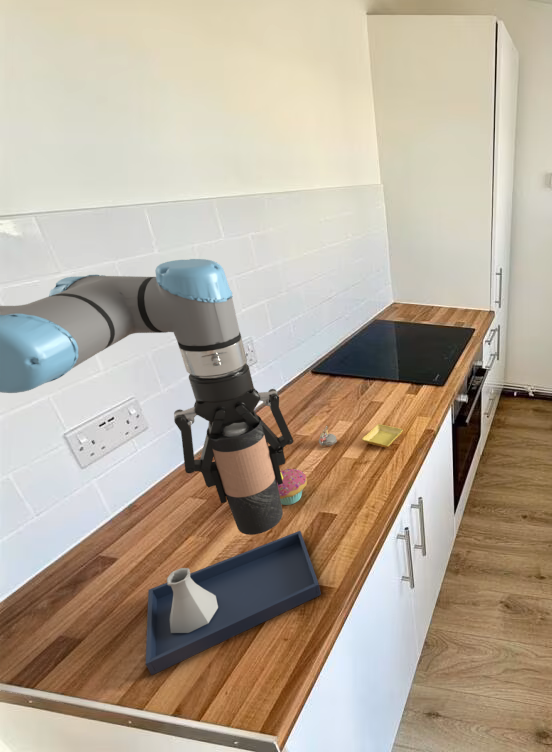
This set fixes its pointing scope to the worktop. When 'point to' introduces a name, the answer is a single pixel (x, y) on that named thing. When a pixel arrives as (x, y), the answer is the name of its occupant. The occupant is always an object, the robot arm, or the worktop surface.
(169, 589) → the tray
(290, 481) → the cupcake
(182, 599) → the flask
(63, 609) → the worktop surface
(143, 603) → the worktop surface
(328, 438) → the figurine
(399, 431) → the saucer
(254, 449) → the travel mug
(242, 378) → the robot arm
